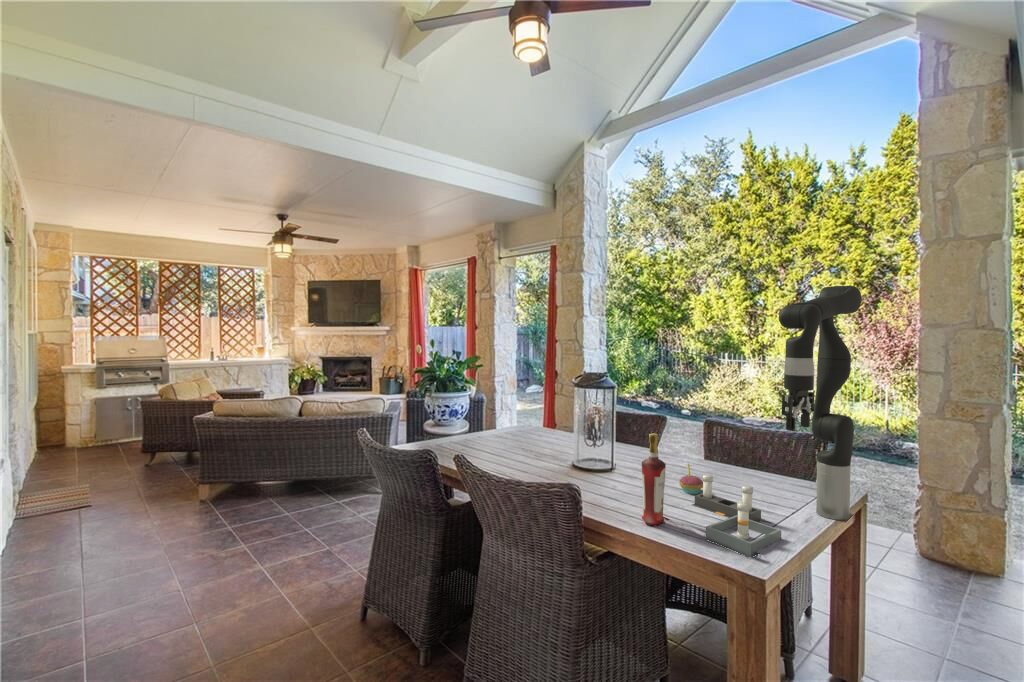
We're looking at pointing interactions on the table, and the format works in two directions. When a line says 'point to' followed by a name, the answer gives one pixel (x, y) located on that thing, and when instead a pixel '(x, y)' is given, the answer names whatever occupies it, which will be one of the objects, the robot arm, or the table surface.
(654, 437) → the liquor
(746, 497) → the cylinder
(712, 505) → the fuse block
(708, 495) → the cylinder
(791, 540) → the table surface
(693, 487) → the cupcake
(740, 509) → the cylinder
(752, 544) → the tray
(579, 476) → the table surface
